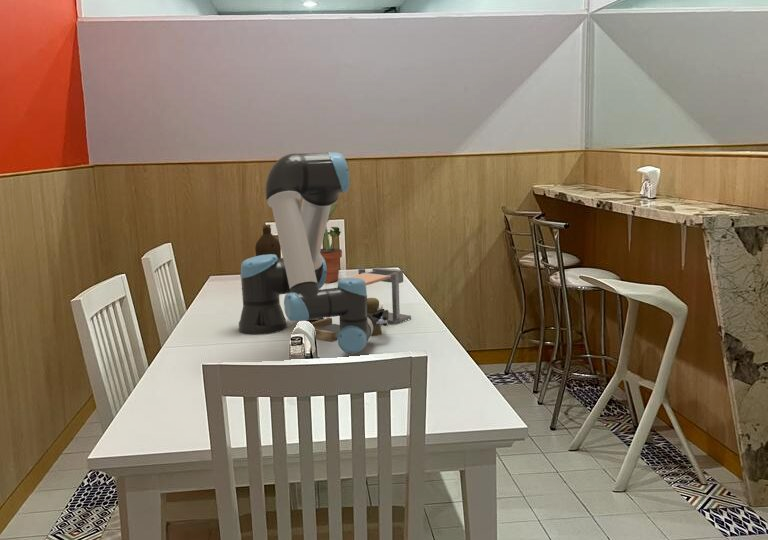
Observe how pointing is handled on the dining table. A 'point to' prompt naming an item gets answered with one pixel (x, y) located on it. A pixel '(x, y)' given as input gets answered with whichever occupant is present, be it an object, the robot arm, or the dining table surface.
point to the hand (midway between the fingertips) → (374, 308)
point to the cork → (372, 308)
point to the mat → (332, 329)
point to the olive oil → (268, 243)
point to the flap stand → (394, 301)
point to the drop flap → (379, 275)
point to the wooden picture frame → (322, 333)
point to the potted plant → (331, 252)
